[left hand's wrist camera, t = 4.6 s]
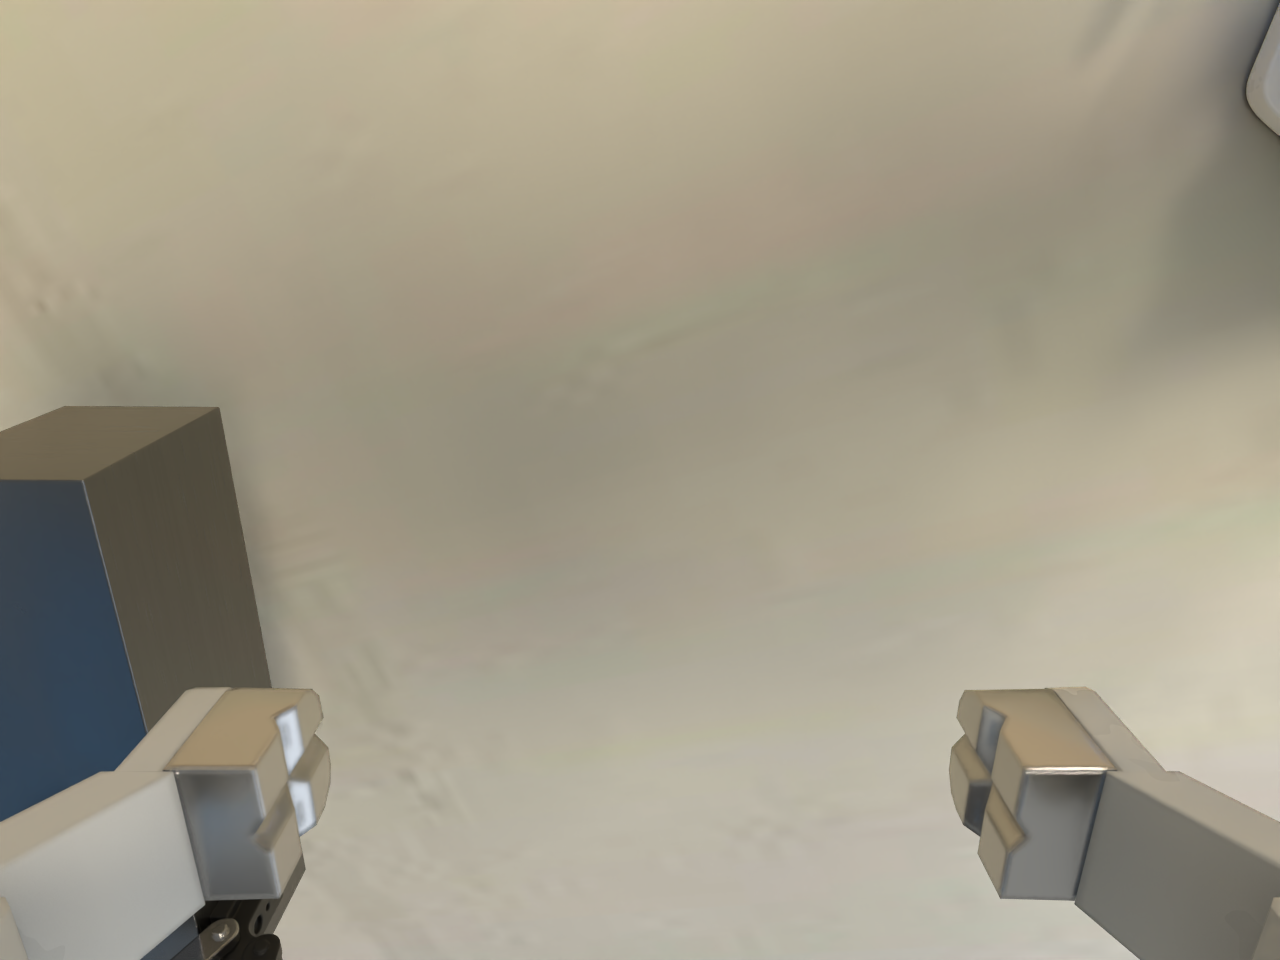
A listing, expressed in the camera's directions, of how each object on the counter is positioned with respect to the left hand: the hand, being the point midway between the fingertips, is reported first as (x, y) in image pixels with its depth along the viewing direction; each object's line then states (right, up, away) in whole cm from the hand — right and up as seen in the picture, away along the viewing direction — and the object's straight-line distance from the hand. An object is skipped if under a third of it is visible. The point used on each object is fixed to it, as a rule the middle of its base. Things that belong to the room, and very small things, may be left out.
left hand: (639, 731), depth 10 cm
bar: (-19, -5, +24) cm, 31 cm away
